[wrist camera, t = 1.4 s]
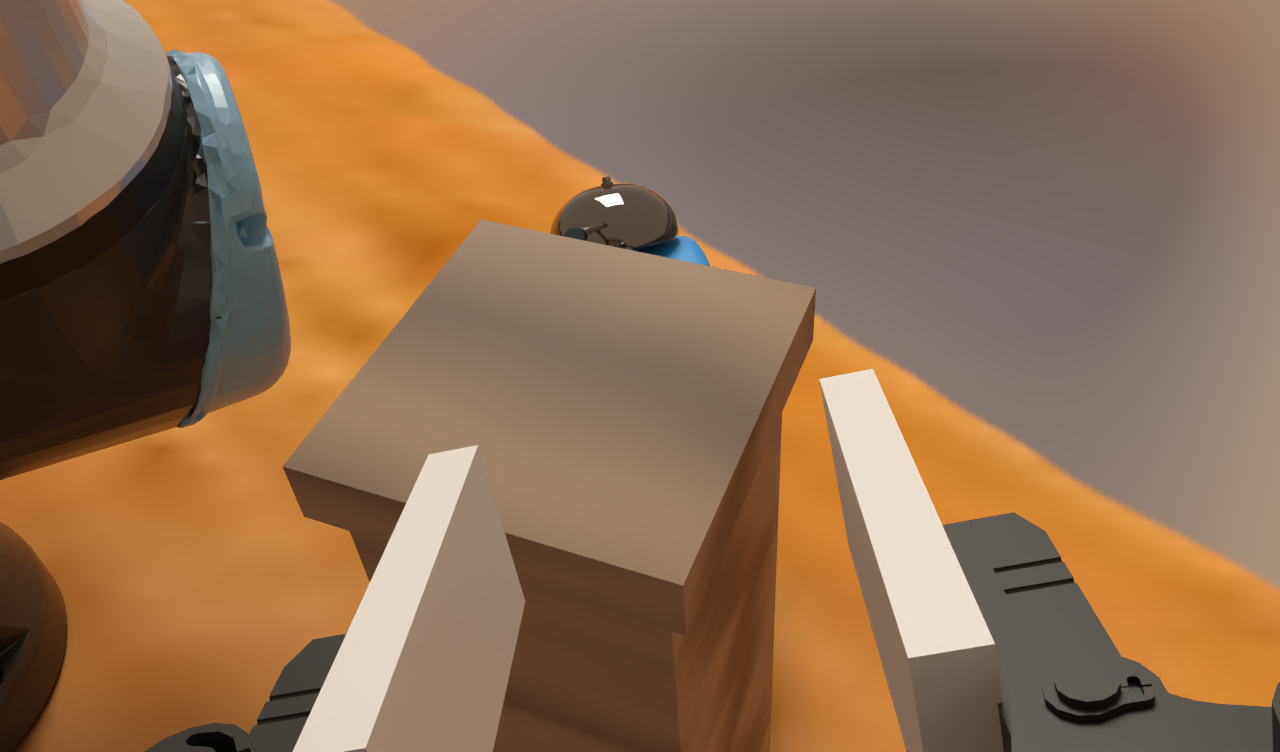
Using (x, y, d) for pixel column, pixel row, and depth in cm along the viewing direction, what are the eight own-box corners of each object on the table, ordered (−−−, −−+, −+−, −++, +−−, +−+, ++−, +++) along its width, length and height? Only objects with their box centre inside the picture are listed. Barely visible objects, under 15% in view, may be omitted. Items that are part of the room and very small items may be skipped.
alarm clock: (757, 628, 45) (763, 356, 35) (605, 657, 45) (564, 389, 34) (688, 399, 55) (677, 130, 44) (562, 422, 54) (519, 154, 44)
